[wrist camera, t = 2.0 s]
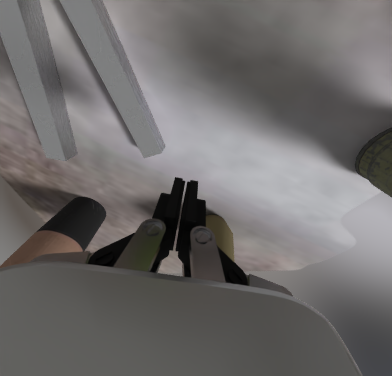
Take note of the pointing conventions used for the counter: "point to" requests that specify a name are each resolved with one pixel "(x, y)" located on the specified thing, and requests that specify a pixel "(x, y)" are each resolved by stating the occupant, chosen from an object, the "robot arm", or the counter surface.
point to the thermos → (377, 161)
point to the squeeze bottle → (221, 234)
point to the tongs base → (37, 75)
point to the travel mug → (63, 232)
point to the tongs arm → (115, 71)
